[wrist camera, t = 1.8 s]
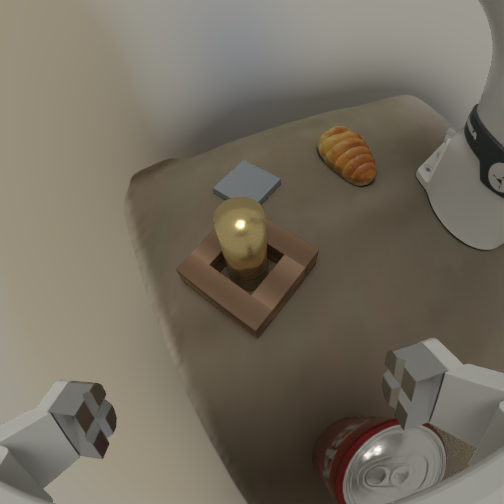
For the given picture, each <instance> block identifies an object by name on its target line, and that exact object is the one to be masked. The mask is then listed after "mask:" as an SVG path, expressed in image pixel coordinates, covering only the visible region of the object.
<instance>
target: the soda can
mask: <svg viewBox="0 0 504 504" xmlns="http://www.w3.org/2000/svg"><path fill="white" fill-rule="evenodd" d="M313 464H314V468H315V470H316V472H317V474H318V476H319V477H320V479H321V480H322V482H323V483H324V485H325V486H326V488H327V489H328V491H329V492H330V494H331V495H332V496H333V498H334V499H335V501H336V502H337V504H387V503H390V502H393V501H395V500H398V499H401V498H404V497H406V496H409V495H411V494H414V493H416V492H419V491H421V490H423V489H426V488H428V487H430V486H432V485H435V484H437V483H439V482H441V481H442V478H443V476H444V473H445V468H446V449H445V445H444V442H443V440H442V438H441V436H440V435H439V434H438V432H437V431H436V430H435V429H434V428H433V427H432V426H431V425H429V424H428V423H425V424H422V425H419V426H416V427H414V428H411V429H408V430H405V431H403V429H402V427H401V426H400V424H399V422H398V421H397V419H396V418H383V417H358V416H355V417H347V418H344V419H341V420H339V421H337V422H335V423H333V424H332V425H331V426H329V427H328V428H327V429H326V430H325V431H324V432H323V433H322V434H321V435H320V437H319V438H318V440H317V442H316V444H315V447H314V451H313Z"/></svg>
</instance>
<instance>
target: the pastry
mask: <svg viewBox="0 0 504 504" xmlns="http://www.w3.org/2000/svg"><path fill="white" fill-rule="evenodd" d="M317 146H318V150H319V153H320V156H321V157H322V159H323V160H324V162H325V163H326V164H327V165H328V166H329V167H330V168H332V169H333V170H334V171H335V172H336V173H337V174H339V175H340V176H341V177H342V178H343V179H345V180H346V181H347V182H350V183H352V184H354V185H356V186H363V185H367V184H369V183H370V182H371V181H372V180H373V179H374V178H375V176H376V173H377V170H376V168H375V160H374V159H373V158H372V153H371V151H370V150H369V147H368V146H367V144H366V143H365V141H364V140H362V138H361V136H360V135H359V134H358V133H356V132H351V131H350V130H349V129H348V127H345V126H335V127H332V128H331V129H330V130H328V131H326V132H324V133H323V134H322V136H321V137H320V138H319V140H318V142H317Z"/></svg>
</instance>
